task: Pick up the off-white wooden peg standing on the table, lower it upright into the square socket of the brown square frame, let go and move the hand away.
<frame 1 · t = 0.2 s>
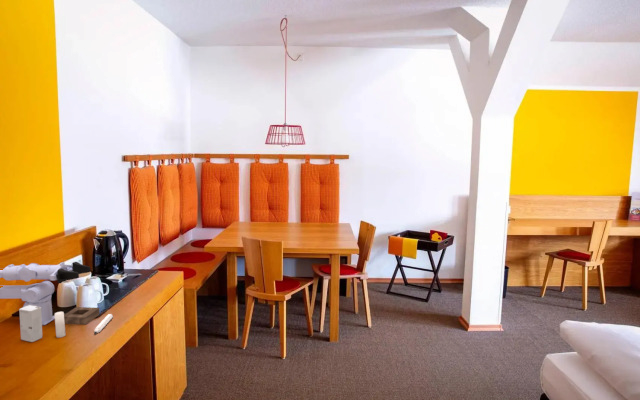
hand: (84, 272, 171), 21 cm above the table, tool horizontal, fingers open, 7 cm apart
marker: (102, 327, 171), on the table
peg: (60, 335, 163), on the table
brown square frame: (81, 319, 177), on the table
skincare box: (32, 339, 160), on the table
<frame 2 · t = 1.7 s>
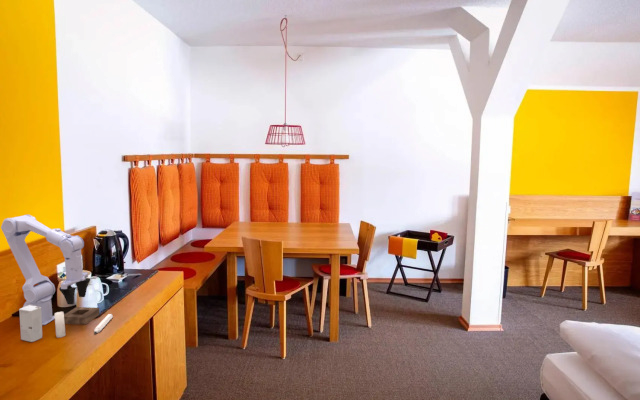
hand: (76, 300, 170), 10 cm above the table, tool pointing down, fingers open, 7 cm apart
nothing on the table moved.
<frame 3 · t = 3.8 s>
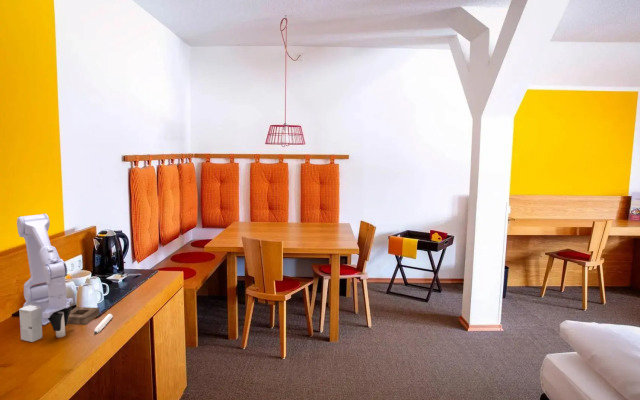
hand: (60, 328, 162), 3 cm above the table, tool pointing down, fingers closed on peg, 3 cm apart
peg: (60, 335, 163), on the table, touching gripper
everything else where it was.
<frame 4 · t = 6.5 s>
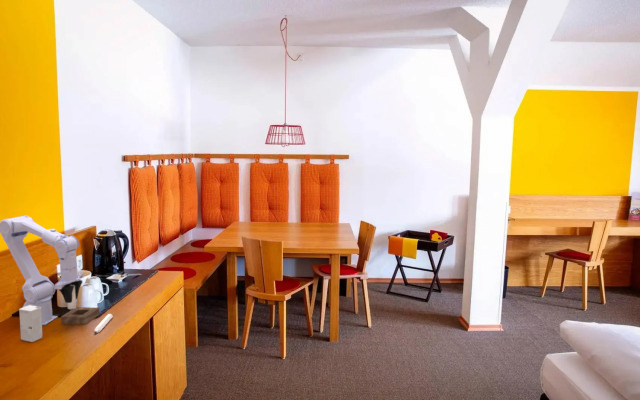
hand: (71, 300, 170), 10 cm above the table, tool pointing down, fingers closed on peg, 3 cm apart
peg: (72, 307, 170), point 7 cm above the table, touching gripper
everything else where it was.
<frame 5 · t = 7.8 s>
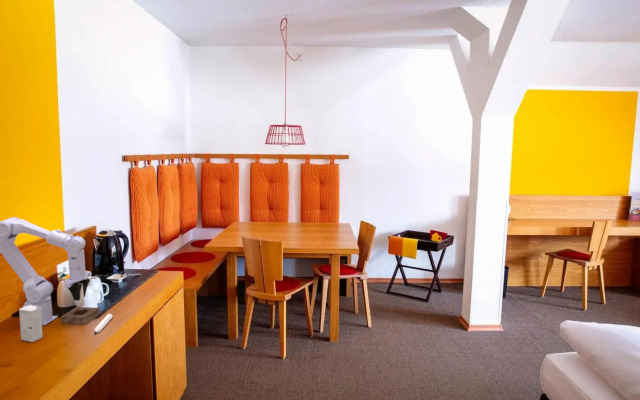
hand: (79, 298, 176), 9 cm above the table, tool pointing down, fingers closed on peg, 3 cm apart
peg: (80, 305, 177), point 6 cm above the table, touching gripper
everything else where it was.
when the fingers open (4 cm above the table, at t = 9.0 s): peg drops 1 cm, resting in brown square frame.
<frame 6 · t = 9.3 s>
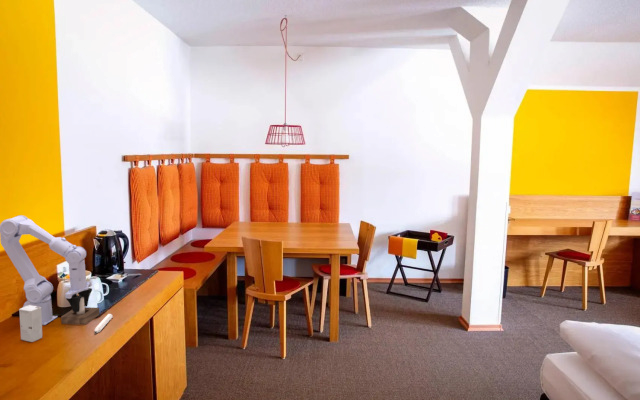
hand: (80, 308, 177), 4 cm above the table, tool pointing down, fingers open, 5 cm apart
peg: (81, 319, 177), resting in brown square frame
everything else where it was.
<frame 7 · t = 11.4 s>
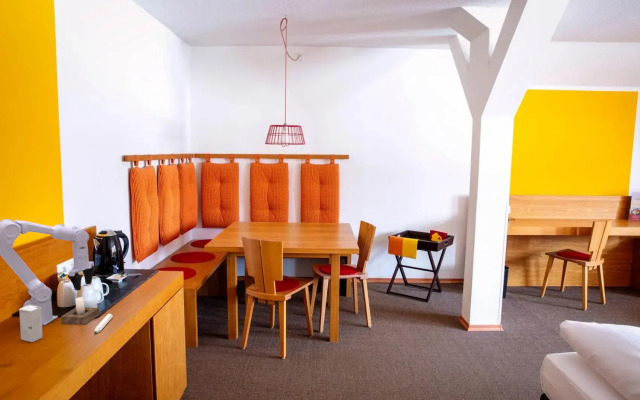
hand: (83, 286, 185), 10 cm above the table, tool pointing down, fingers open, 7 cm apart
nothing on the table moved.
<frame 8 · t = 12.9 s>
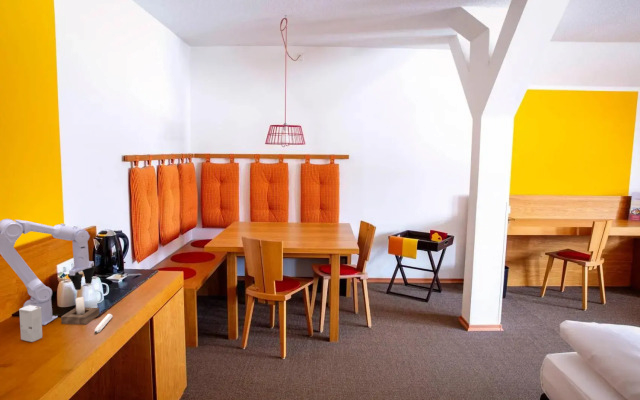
hand: (83, 286, 186), 10 cm above the table, tool pointing down, fingers open, 7 cm apart
nothing on the table moved.
at the end: peg 0.1 cm off-centre on the brown square frame, point 0.0 cm above the brown square frame's base; peg tilted 0°; the gripper is holding nothing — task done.
